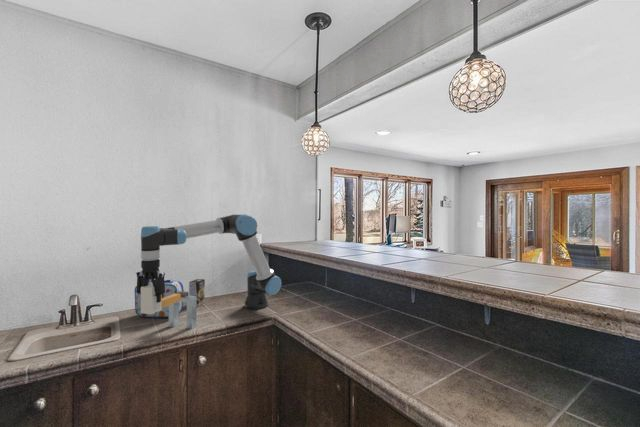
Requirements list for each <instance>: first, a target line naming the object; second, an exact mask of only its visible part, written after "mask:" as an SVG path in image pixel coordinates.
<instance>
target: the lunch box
mask: <svg viewBox="0 0 640 427" xmlns="http://www.w3.org/2000/svg"><path fill="white" fill-rule="evenodd" d="M164 283H165V293H164V294H162V298H164V297H167V296H170V295H172V294H177V292H180V291H182V292H185V290H184V285H183V283H182V282H181V281H179V280H171V279H166V280H164ZM149 284H153V283H152V282H151V280H149V283H148V285H149ZM183 305H184V302H179V313H181V312H182V310H183ZM134 310H135V314H136V315H137V316H139V317H146V318H154V319H155V318H169V306H167V307H164V308H162V310H160V311H158V312H156V313H153V314H145V313H141V295H140V294H139V293H137V285H136V286H135V287H134Z"/></svg>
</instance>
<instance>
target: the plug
mask: <svg viewBox="0 0 640 427" xmlns="http://www.w3.org/2000/svg"><path fill="white" fill-rule="evenodd" d="M155 295H156V294H155V291H154V287H153V284H149V285H147V286H143V287H141V313H145V314H153V313H156V312H158V311H160V310H162V308H164V307H167V306H169V305H171V304H174V303H176V302H178V301H181V294H172V295H170V296H167V297H164V298H162V294H161V302H160V309H157V310H154V296H155Z"/></svg>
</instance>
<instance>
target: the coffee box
mask: <svg viewBox="0 0 640 427" xmlns="http://www.w3.org/2000/svg"><path fill="white" fill-rule="evenodd" d="M205 281H206V279H204V278H197V279H193V280H191V281H189V282H188V286H189V287H188V295H192V296H196V308H197V307H199V306H201V305H203V304H205V303H206V300H205V298H206V297H205V295H206V294H205V293H206V292H205V290H206V282H205Z"/></svg>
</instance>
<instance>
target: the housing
mask: <svg viewBox="0 0 640 427" xmlns="http://www.w3.org/2000/svg"><path fill="white" fill-rule="evenodd" d="M177 294H181V301H178V302H176V303H174V304H171V305H169V317H168V327H169V328H175V327H177V326H179V323H180V322H179V319H180V316H179V315H180V314H179V302H183V303H186V329H188V330H192V329H194V328H196V327H197V307H196V296H192V295H189V291H184V292H182V291H180V292H177Z"/></svg>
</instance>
